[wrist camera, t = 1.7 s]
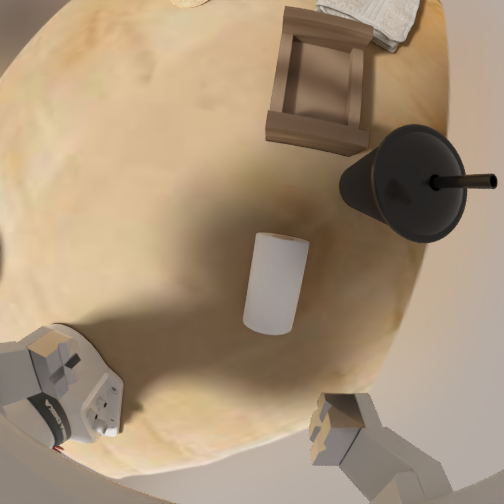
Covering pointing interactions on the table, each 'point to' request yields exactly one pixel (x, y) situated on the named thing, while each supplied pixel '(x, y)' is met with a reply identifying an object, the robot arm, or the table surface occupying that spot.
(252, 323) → the roll
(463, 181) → the drinking cup
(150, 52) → the table surface
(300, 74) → the cradle
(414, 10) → the washcloth
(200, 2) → the silver tumbler
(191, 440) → the table surface
